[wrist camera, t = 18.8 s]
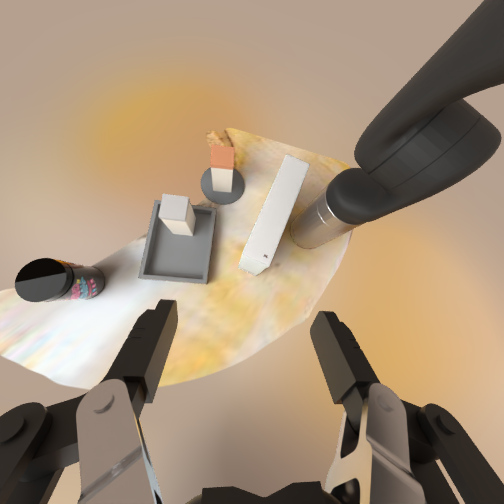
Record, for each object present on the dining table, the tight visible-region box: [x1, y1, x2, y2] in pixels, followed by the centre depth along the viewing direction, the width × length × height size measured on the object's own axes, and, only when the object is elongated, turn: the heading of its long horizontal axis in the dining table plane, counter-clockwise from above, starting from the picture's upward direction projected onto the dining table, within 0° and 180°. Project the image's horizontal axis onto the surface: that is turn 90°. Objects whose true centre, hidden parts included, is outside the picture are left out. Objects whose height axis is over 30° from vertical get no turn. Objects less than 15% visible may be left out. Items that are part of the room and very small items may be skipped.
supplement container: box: [15, 258, 105, 302], centre depth 33 cm, size 7×7×10 cm
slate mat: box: [201, 167, 244, 204], centre depth 48 cm, size 11×11×1 cm
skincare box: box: [238, 154, 310, 276], centre depth 39 cm, size 21×6×16 cm, turn 157°
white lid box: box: [158, 194, 196, 236], centre depth 39 cm, size 5×5×10 cm
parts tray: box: [138, 200, 216, 284], centre depth 42 cm, size 18×14×2 cm
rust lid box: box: [210, 145, 234, 192], centre depth 43 cm, size 5×5×10 cm
